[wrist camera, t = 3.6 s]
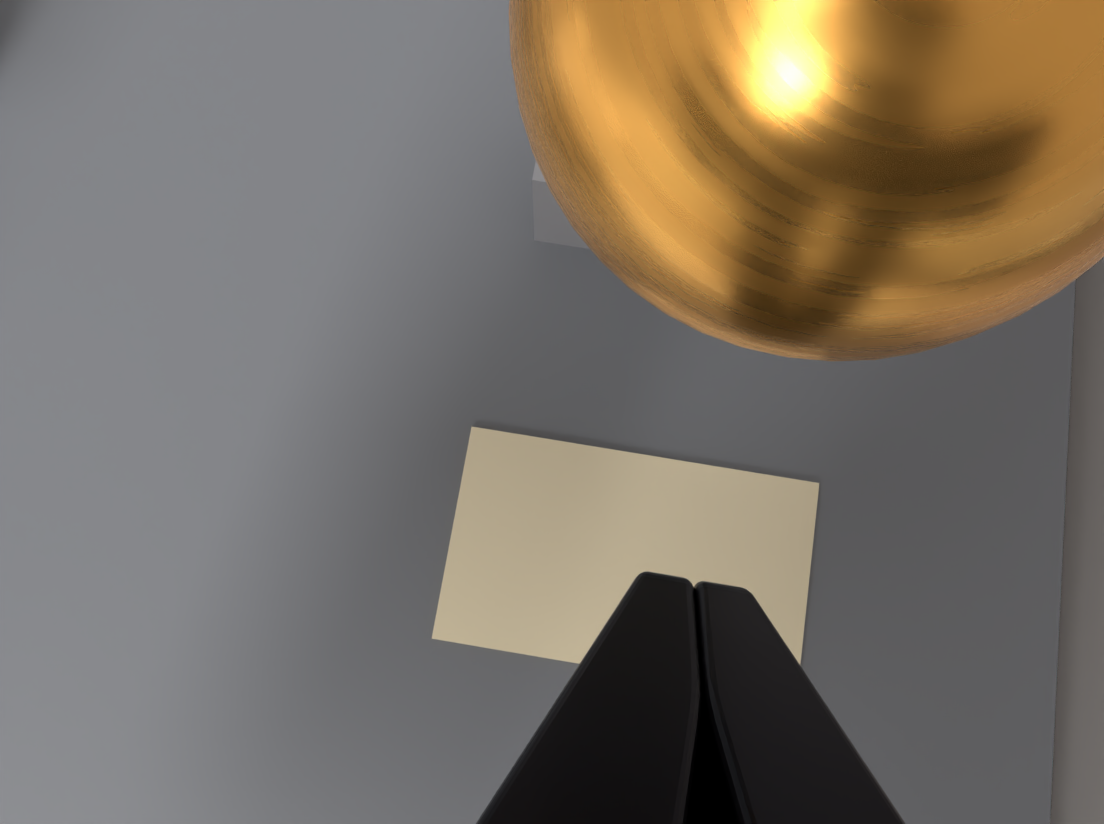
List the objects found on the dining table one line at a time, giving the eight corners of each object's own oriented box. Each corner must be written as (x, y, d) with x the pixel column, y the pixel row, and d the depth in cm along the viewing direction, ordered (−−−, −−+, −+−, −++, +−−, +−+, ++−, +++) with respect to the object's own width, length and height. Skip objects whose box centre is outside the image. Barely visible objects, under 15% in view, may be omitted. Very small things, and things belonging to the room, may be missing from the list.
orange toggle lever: (776, 312, 14) (1331, 474, 3) (560, 277, 15) (402, 325, 3) (818, 87, 14) (1639, -599, 3) (595, 53, 14) (538, -736, 3)
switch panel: (981, 1109, 14) (1125, 1264, 10) (-813, 780, 15) (-1230, 822, 11) (1042, 81, 17) (1163, -57, 14) (-399, -132, 18) (-619, -312, 15)
